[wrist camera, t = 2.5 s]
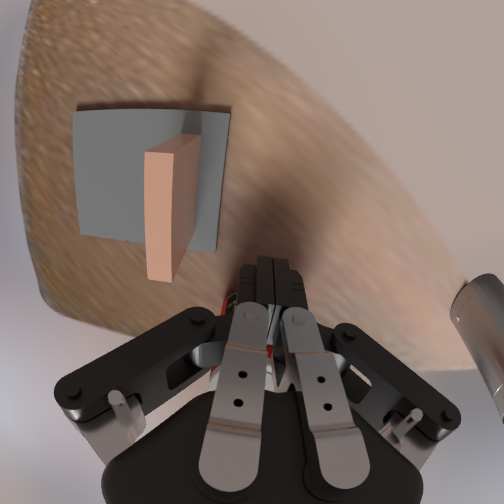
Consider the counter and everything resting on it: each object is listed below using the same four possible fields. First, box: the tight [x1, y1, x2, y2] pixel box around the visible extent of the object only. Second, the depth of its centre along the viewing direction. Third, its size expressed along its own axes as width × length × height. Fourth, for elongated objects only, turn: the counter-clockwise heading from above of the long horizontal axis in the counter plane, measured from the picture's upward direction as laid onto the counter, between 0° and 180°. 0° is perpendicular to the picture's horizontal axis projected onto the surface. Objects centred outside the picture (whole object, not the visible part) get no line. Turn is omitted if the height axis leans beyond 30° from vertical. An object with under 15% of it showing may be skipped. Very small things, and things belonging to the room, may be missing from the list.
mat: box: [73, 109, 231, 253], centre depth 25 cm, size 15×13×1 cm
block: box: [144, 133, 202, 283], centre depth 21 cm, size 2×9×8 cm, turn 172°
